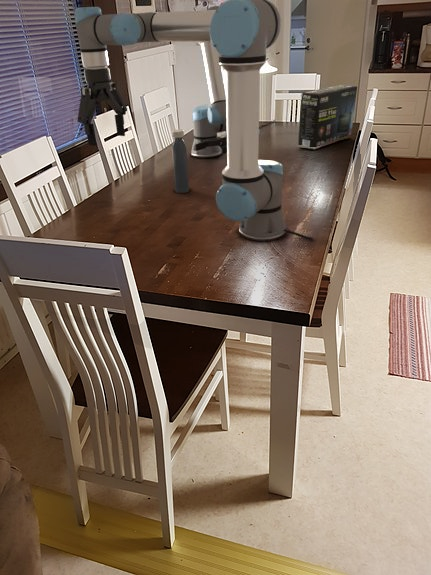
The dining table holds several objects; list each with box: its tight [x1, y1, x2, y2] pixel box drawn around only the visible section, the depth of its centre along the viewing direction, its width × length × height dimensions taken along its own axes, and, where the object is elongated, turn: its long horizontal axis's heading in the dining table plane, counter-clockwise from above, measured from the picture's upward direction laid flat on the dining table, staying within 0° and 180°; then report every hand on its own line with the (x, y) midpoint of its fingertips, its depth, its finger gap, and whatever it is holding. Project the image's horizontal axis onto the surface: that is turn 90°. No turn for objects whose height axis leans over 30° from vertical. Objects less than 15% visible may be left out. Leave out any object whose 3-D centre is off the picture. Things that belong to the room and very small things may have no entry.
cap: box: [171, 129, 185, 138], centre depth 176 cm, size 4×4×2 cm
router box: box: [297, 84, 358, 151], centre depth 238 cm, size 36×11×27 cm, turn 134°
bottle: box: [171, 137, 190, 194], centre depth 181 cm, size 6×6×23 cm
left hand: (209, 149), depth 191 cm, fingers open, 13 cm apart
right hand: (107, 140), depth 148 cm, fingers open, 13 cm apart
